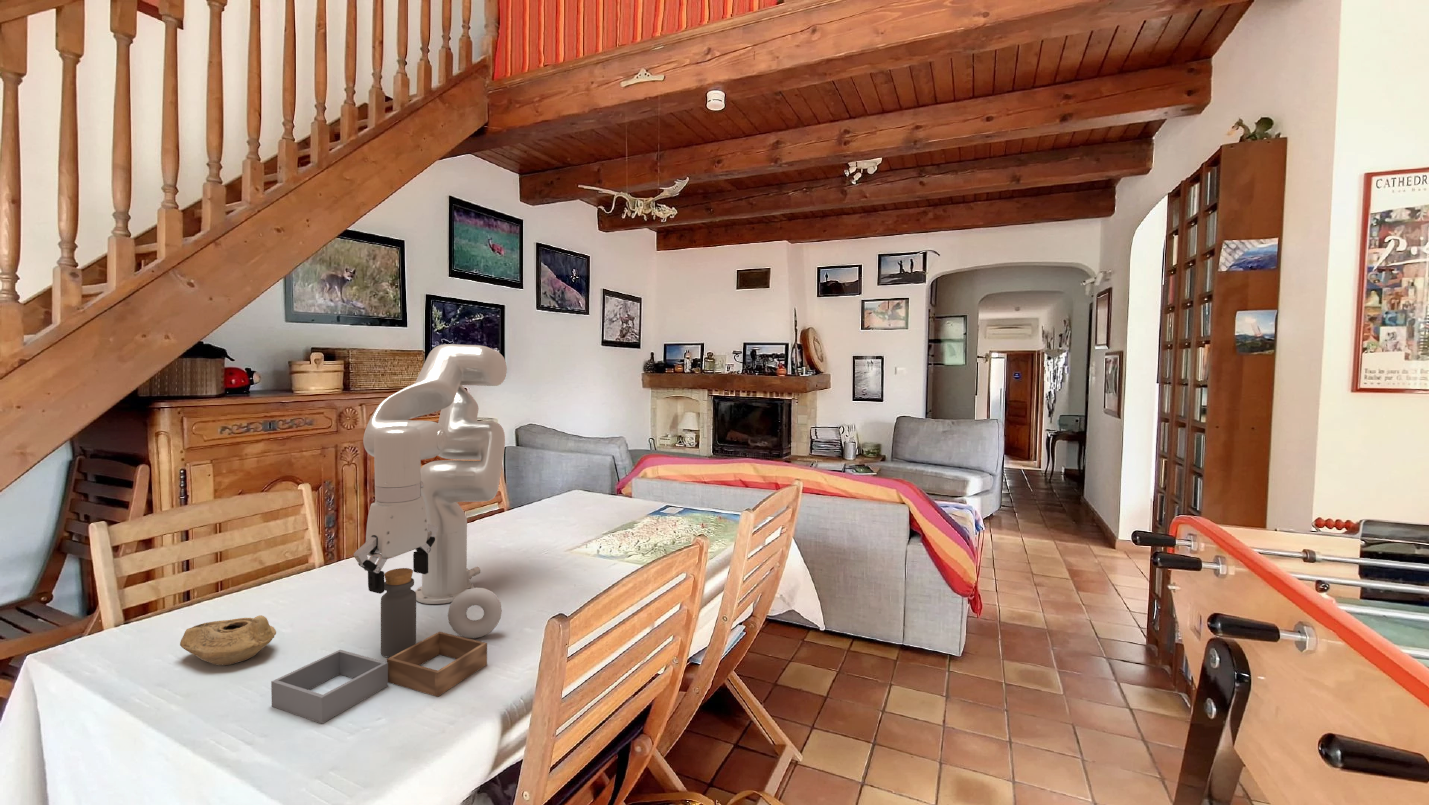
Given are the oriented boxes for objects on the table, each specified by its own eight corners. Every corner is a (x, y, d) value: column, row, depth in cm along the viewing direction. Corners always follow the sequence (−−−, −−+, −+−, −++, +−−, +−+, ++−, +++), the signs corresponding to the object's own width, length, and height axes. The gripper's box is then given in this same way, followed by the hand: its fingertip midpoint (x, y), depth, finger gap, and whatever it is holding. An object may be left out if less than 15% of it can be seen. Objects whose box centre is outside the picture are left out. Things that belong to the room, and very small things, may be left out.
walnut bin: (439, 652, 108) (439, 631, 108) (486, 664, 104) (487, 643, 104) (386, 682, 97) (386, 659, 97) (437, 696, 94) (437, 673, 93)
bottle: (400, 659, 105) (400, 579, 104) (373, 655, 106) (373, 575, 105) (422, 645, 111) (423, 568, 110) (396, 641, 112) (396, 565, 111)
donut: (502, 631, 117) (502, 583, 117) (500, 639, 114) (501, 589, 113) (449, 635, 115) (449, 586, 114) (446, 643, 111) (446, 593, 111)
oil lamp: (198, 647, 107) (197, 605, 107) (289, 641, 110) (289, 600, 110) (155, 678, 96) (154, 632, 96) (258, 670, 100) (257, 625, 99)
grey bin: (340, 671, 100) (340, 649, 100) (387, 686, 96) (387, 662, 96) (271, 706, 90) (271, 681, 89) (322, 723, 86) (321, 697, 86)
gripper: (421, 481, 116) (422, 563, 117) (339, 501, 100) (341, 596, 101) (450, 485, 113) (450, 569, 115) (370, 506, 97) (372, 604, 99)
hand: (399, 582), depth 108 cm, fingers open, 9 cm apart
